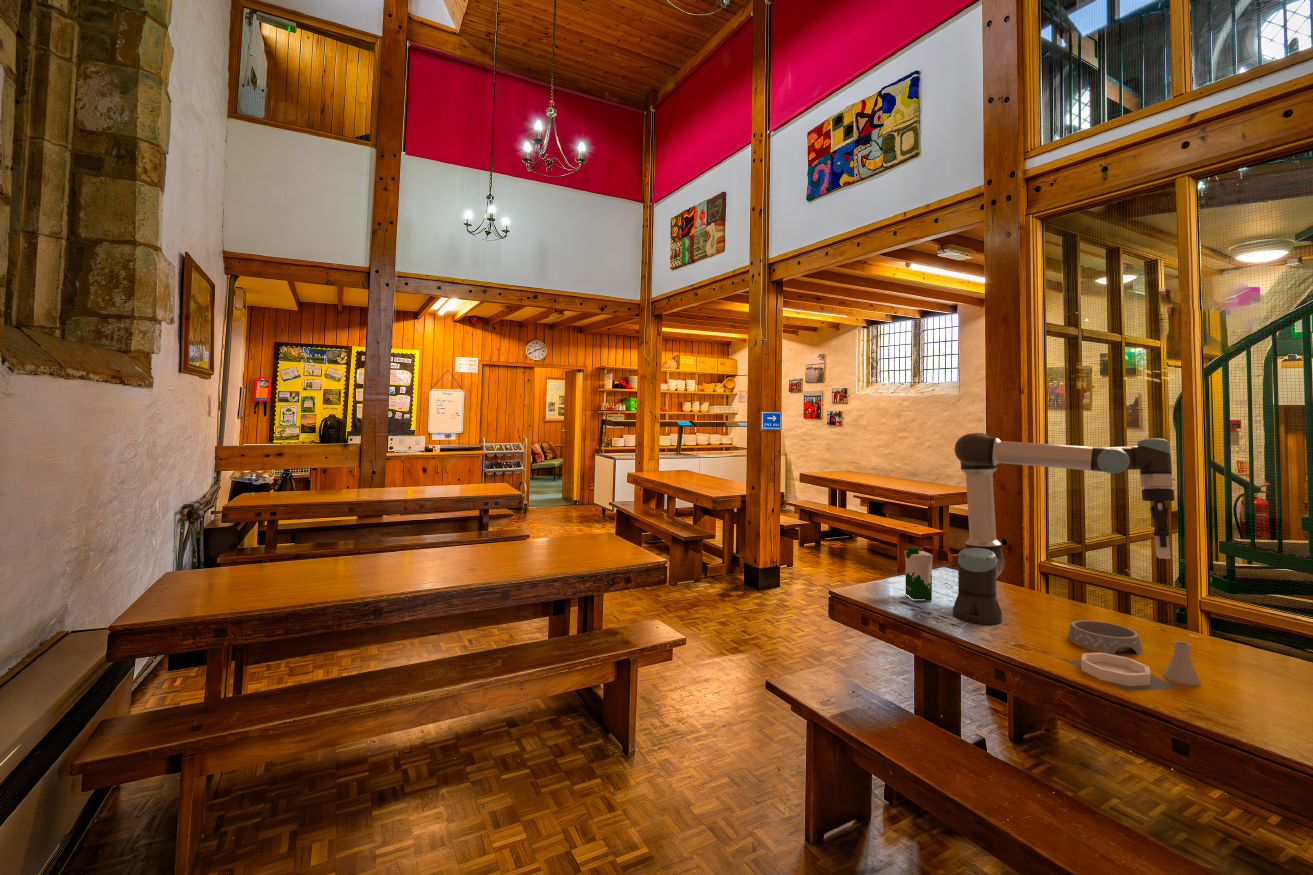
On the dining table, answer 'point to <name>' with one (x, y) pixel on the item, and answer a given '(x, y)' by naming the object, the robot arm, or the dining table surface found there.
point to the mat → (1154, 684)
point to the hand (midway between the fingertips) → (1163, 557)
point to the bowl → (1115, 669)
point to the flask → (1181, 666)
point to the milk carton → (918, 573)
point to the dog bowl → (1104, 636)
